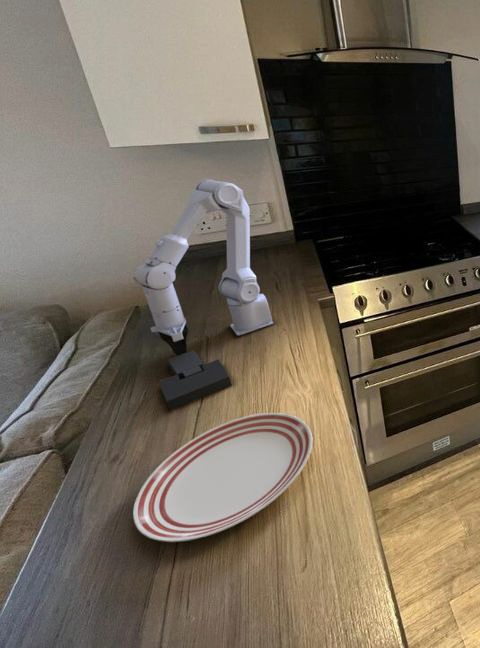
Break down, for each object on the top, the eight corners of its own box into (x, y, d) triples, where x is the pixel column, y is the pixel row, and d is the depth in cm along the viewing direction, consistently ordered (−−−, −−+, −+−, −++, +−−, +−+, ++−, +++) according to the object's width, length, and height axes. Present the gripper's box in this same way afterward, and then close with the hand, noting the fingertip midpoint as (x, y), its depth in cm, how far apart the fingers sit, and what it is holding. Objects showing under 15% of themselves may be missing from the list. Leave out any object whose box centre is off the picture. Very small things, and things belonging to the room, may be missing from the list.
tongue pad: (195, 358, 116) (192, 349, 115) (209, 376, 109) (206, 367, 108) (170, 367, 112) (167, 359, 111) (183, 387, 105) (180, 378, 104)
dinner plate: (120, 589, 64) (113, 574, 63) (152, 459, 86) (147, 446, 84) (324, 499, 78) (321, 486, 76) (307, 407, 99) (304, 395, 98)
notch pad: (221, 367, 113) (218, 359, 112) (231, 384, 106) (229, 376, 105) (161, 389, 104) (158, 381, 104) (169, 410, 98) (166, 401, 97)
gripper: (140, 304, 112) (157, 348, 117) (149, 324, 103) (167, 372, 108) (174, 294, 117) (189, 337, 122) (186, 313, 108) (201, 359, 113)
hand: (181, 353), depth 115 cm, fingers closed
